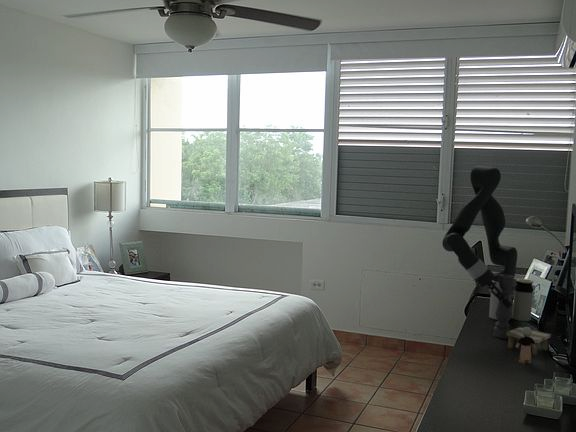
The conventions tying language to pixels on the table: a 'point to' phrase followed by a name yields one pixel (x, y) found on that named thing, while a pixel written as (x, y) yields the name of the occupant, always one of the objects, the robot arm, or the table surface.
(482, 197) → the robot arm
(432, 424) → the table surface
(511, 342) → the beige toy table
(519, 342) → the grandmother figurine
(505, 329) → the candle holder
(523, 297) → the travel mug
